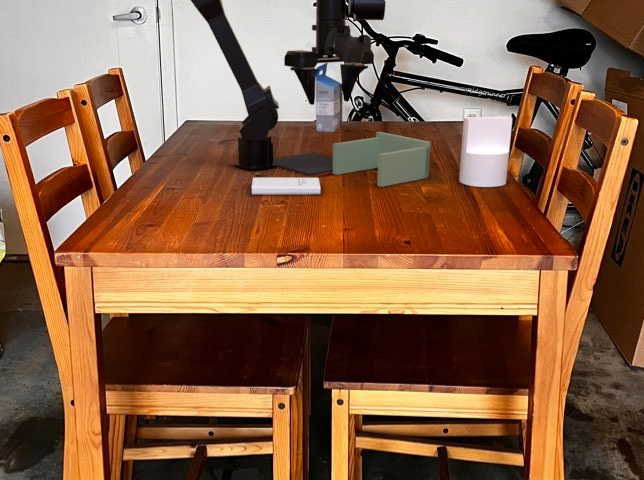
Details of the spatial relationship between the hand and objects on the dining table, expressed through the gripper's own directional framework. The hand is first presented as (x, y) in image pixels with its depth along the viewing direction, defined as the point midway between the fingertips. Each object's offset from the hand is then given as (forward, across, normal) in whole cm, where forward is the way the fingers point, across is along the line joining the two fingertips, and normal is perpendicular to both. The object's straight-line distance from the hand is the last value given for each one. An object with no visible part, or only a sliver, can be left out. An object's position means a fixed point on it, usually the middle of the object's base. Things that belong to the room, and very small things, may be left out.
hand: (329, 102), depth 165 cm
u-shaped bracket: (+13, +3, -13) cm, 18 cm away
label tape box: (+5, 0, 0) cm, 5 cm away
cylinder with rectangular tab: (+13, +15, -29) cm, 35 cm away
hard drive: (+13, -19, -12) cm, 26 cm away
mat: (+13, -1, +4) cm, 13 cm away
